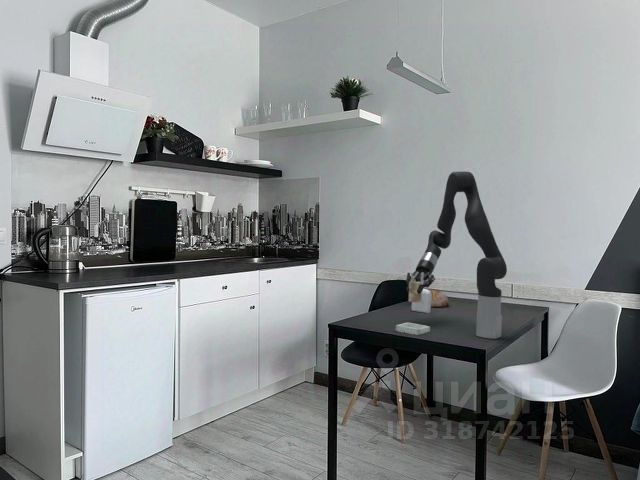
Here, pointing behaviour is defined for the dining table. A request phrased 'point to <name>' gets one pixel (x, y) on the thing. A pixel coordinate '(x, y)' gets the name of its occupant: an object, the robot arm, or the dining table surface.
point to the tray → (413, 328)
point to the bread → (438, 299)
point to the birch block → (414, 292)
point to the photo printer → (423, 302)
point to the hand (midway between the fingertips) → (413, 292)
